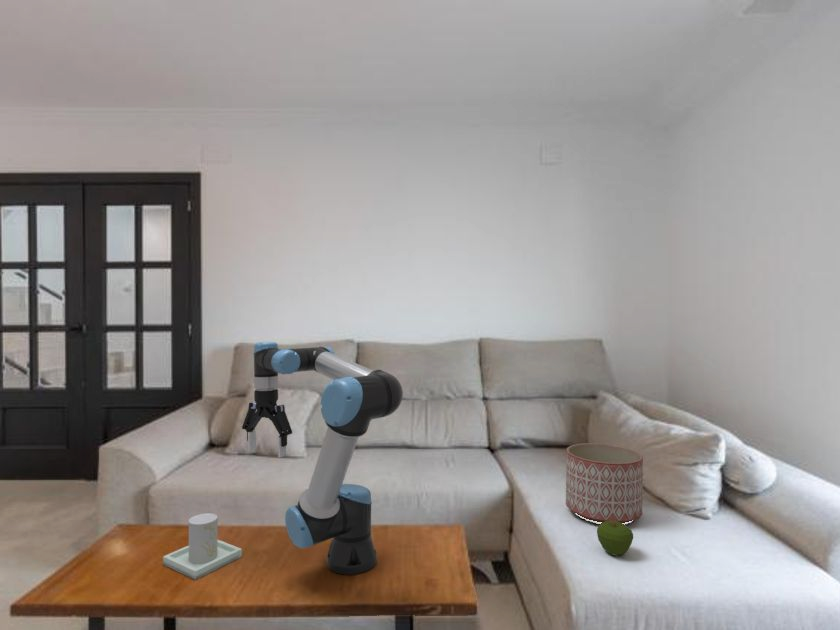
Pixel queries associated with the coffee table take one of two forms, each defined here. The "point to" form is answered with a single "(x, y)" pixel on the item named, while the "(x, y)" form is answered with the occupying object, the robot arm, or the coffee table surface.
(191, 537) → the cup
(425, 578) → the coffee table surface
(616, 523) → the apple
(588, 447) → the planter
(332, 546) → the robot arm
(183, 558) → the tray
